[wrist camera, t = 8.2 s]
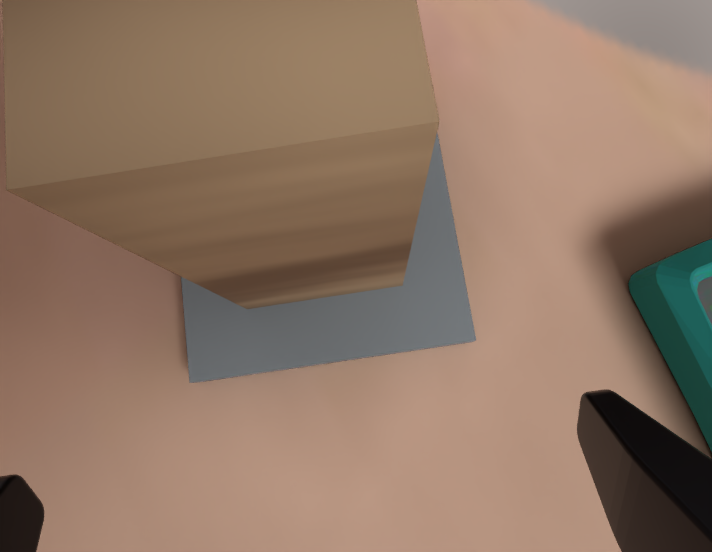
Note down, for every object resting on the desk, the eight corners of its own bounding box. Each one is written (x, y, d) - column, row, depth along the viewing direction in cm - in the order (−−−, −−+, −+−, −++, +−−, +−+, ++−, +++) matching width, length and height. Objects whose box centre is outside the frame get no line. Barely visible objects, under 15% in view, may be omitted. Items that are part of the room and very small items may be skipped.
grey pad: (471, 342, 17) (475, 340, 16) (198, 382, 17) (189, 382, 17) (425, 90, 19) (427, 78, 18) (176, 129, 19) (168, 118, 18)
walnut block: (402, 285, 17) (439, 121, 6) (247, 309, 17) (6, 189, 6) (378, 140, 18) (372, -230, 7) (231, 163, 18) (-1, -166, 7)
